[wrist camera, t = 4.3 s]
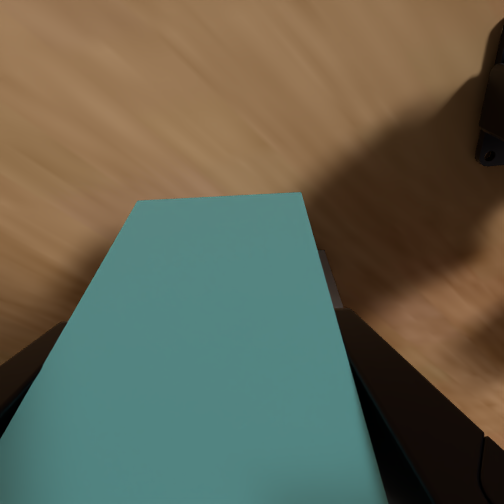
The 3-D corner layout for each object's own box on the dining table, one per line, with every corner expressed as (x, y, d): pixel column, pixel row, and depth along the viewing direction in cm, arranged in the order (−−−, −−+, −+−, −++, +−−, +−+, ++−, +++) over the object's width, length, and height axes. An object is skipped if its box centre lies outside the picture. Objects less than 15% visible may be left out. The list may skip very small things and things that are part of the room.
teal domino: (301, 192, 12) (425, 636, 4) (300, 237, 13) (400, 687, 4) (137, 200, 12) (-123, 652, 4) (147, 245, 13) (-44, 696, 4)
